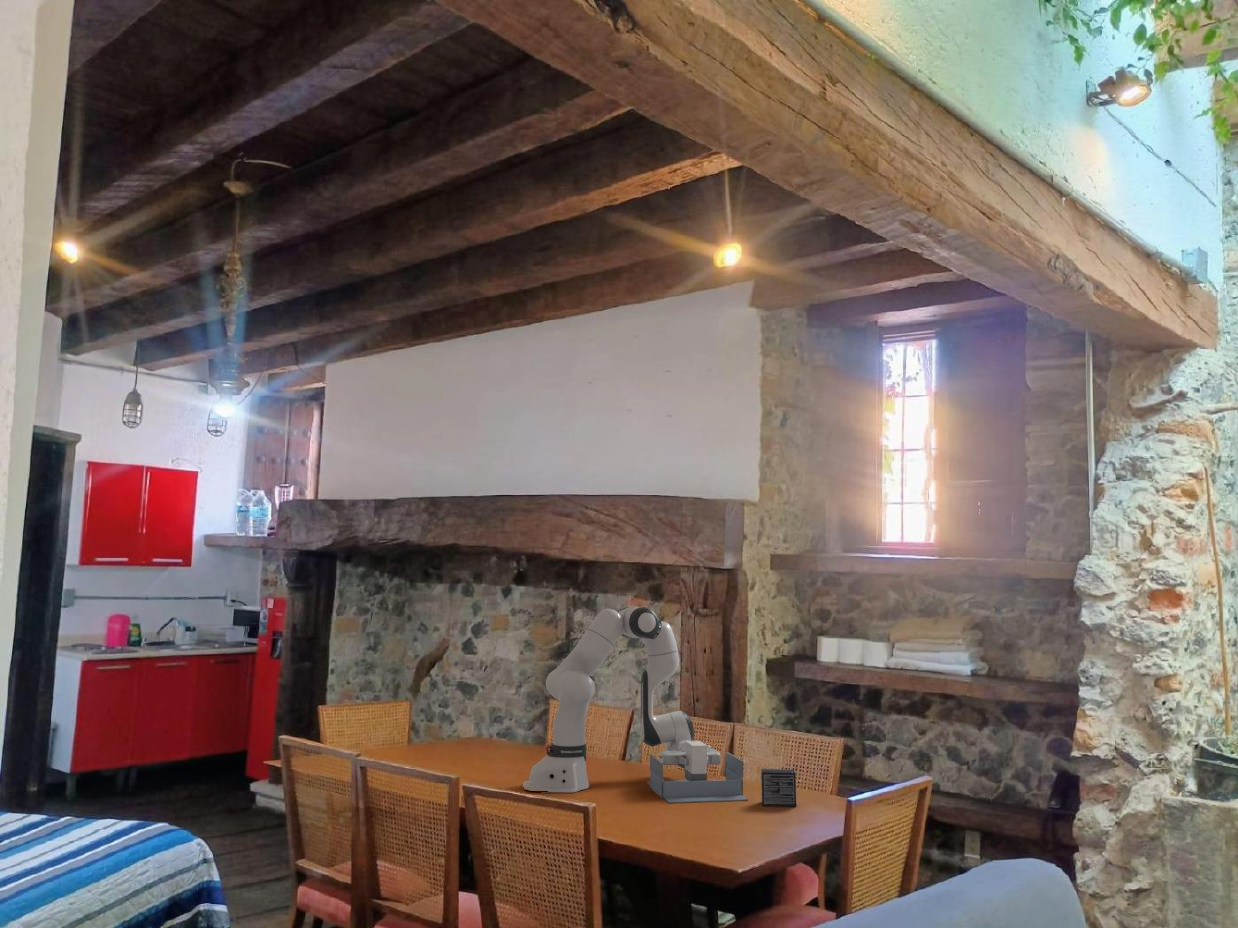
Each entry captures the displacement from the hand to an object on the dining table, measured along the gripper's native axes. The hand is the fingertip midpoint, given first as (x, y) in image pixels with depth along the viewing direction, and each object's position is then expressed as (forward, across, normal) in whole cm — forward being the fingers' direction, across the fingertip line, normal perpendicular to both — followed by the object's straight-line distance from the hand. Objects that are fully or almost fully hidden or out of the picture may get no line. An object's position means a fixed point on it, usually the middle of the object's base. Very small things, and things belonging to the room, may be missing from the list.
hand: (696, 762), depth 320 cm
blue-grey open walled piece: (-2, 0, +10) cm, 10 cm away
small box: (+20, +21, +10) cm, 31 cm away
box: (-1, 0, +6) cm, 6 cm away
